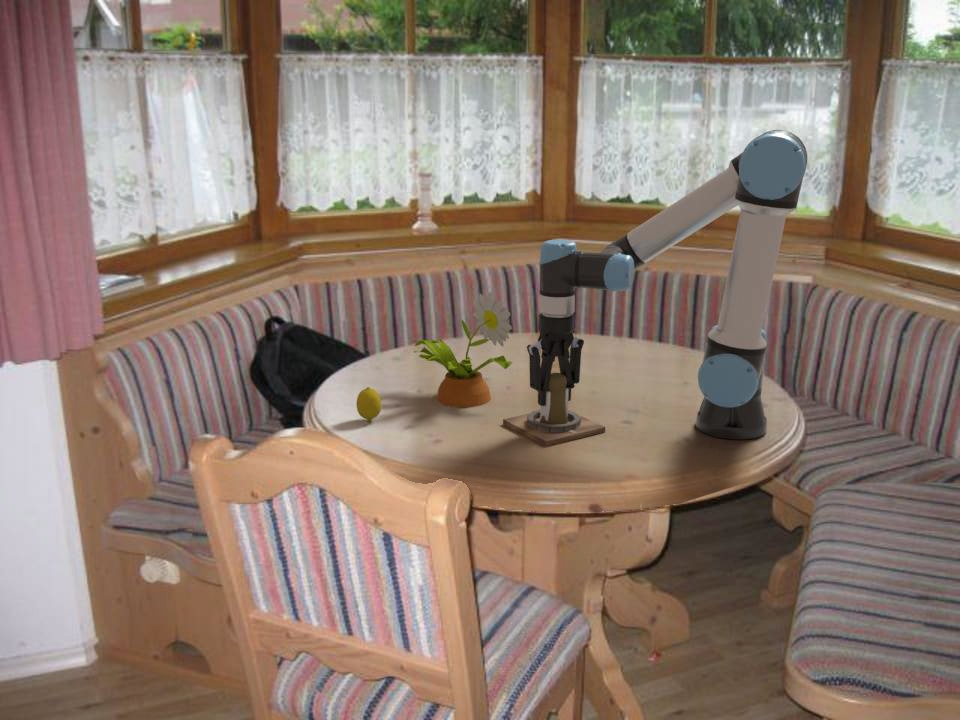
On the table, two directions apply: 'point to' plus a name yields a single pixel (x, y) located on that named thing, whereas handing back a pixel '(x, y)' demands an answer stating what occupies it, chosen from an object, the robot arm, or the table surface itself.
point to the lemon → (368, 403)
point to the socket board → (553, 428)
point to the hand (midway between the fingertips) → (554, 416)
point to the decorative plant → (460, 379)
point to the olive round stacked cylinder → (557, 400)
